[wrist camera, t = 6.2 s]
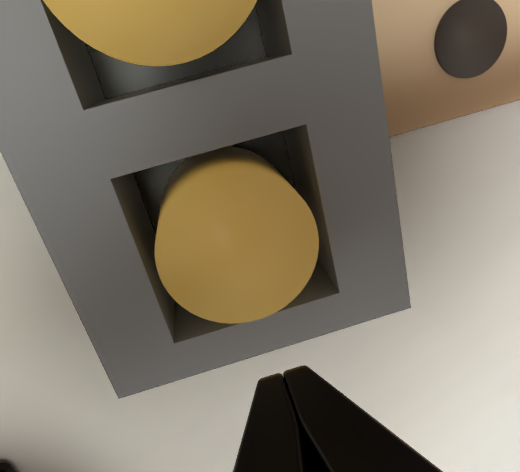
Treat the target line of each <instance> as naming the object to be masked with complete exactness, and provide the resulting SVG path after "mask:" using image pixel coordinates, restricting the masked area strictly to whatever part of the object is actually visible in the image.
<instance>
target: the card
mask: <svg viewBox="0 0 520 472" xmlns="http://www.w3.org/2000/svg"><path fill="white" fill-rule="evenodd" d="M372 7H373V15H374V23H375V31H376V39H377V46H378V54H379V62H380V70H381V78H382V86H383V93H384V101H385V109H386V117H387V125H388V133H389V137H391V136H395V135H398V134H402V133H405V132H409V131H412V130H416V129H419V128H423V127H426V126H430V125H433V124H437V123H440V122H444V121H447V120H451V119H454V118H458V117H461V116H465V115H468V114H472V113H475V112H479V111H482V110H486V109H489V108H493V107H496V106H500V105H503V104H507V103H510V102H514V101H517V100H520V0H372Z"/></svg>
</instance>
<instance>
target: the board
mask: <svg viewBox="0 0 520 472" xmlns="http://www.w3.org/2000/svg"><path fill="white" fill-rule="evenodd" d="M255 5H256V10H257V14H258V19H259V23H260V28H261V32H262V37H263V42H264V46H265V51H266V55H267V56H266V57H262V58H259V59H255V60H251V61H247V62H244V63H240V64H236V65H233V66H229V67H225V68H221V69H218V70H214V71H210V72H206V73H203V74H199V75H195V76H191V77H188V78H184V79H180V80H176V81H173V82H169V83H165V84H162V85H158V86H154V87H150V88H147V89H143V90H139V91H135V92H132V93H128V94H124V95H120V96H117V97H113V98H109V99H105V97H104V94H103V91H102V88H101V86H100V83H99V80H98V77H97V75H96V72H95V69H94V67H93V64H92V61H91V58H90V56H89V53H88V50H87V47H86V45H85V42H84V41H82V40H81V39H79V38H78V37H77V36H76V35H74V34H73V33H72V32H71V31H70V30H69V29H67V28H66V27H65V26H64V25H63V24H62V23H61V22H60V21H59V20H58V18H57V17H56V16H55V15H54V14H53V13H52V12H51V10H50V9H49V8H48V6H47V5H46V4H45V2H44V1H43V0H0V152H1V154H2V156H3V158H4V160H5V162H6V164H7V166H8V168H9V170H10V173H11V175H12V177H13V179H14V181H15V183H16V185H17V187H18V189H19V191H20V193H21V196H22V198H23V200H24V202H25V204H26V206H27V208H28V210H29V212H30V214H31V216H32V219H33V221H34V223H35V225H36V227H37V229H38V231H39V233H40V235H41V237H42V239H43V242H44V244H45V246H46V248H47V250H48V252H49V254H50V256H51V258H52V260H53V262H54V265H55V267H56V269H57V271H58V273H59V275H60V277H61V279H62V281H63V283H64V286H65V288H66V290H67V292H68V294H69V296H70V298H71V300H72V302H73V304H74V306H75V309H76V311H77V313H78V315H79V317H80V319H81V321H82V323H83V325H84V327H85V329H86V332H87V334H88V336H89V338H90V340H91V342H92V344H93V346H94V348H95V350H96V352H97V355H98V357H99V359H100V361H101V363H102V365H103V367H104V369H105V371H106V373H107V375H108V378H109V380H110V382H111V384H112V386H113V388H114V390H115V392H116V394H117V396H118V398H123V397H126V396H129V395H132V394H135V393H139V392H142V391H145V390H148V389H151V388H155V387H158V386H161V385H164V384H167V383H171V382H174V381H177V380H180V379H183V378H187V377H190V376H193V375H196V374H199V373H203V372H206V371H209V370H212V369H215V368H219V367H222V366H225V365H228V364H232V363H235V362H238V361H241V360H244V359H248V358H251V357H254V356H257V355H260V354H264V353H267V352H270V351H273V350H276V349H280V348H283V347H286V346H289V345H292V344H296V343H299V342H302V341H305V340H308V339H312V338H315V337H318V336H321V335H324V334H328V333H331V332H334V331H337V330H340V329H344V328H347V327H350V326H353V325H356V324H360V323H363V322H366V321H369V320H372V319H376V318H379V317H382V316H385V315H388V314H392V313H395V312H398V311H401V310H404V309H408V308H411V305H410V297H409V289H408V282H407V274H406V266H405V258H404V250H403V242H402V235H401V227H400V219H399V211H398V203H397V195H396V188H395V180H394V172H393V164H392V156H391V148H390V141H389V133H388V125H387V117H386V109H385V101H384V93H383V86H382V78H381V70H380V62H379V54H378V46H377V39H376V31H375V23H374V15H373V7H372V0H257V1H256V4H255ZM280 131H283V132H284V137H285V141H286V146H287V151H288V155H289V160H290V164H291V169H292V173H293V178H294V182H295V187H296V191H297V193H298V194H299V195H300V196H301V197H302V198H303V200H304V201H305V202H306V203H307V205H308V207H309V208H310V210H311V212H312V214H313V216H314V219H315V222H316V225H317V229H318V236H319V250H318V258H317V261H316V265H315V268H314V270H313V273H312V275H311V277H310V279H309V281H308V282H307V284H306V286H305V287H304V288H303V290H302V291H301V292H300V293H299V294H298V295H297V296H296V298H295V299H294V300H292V301H291V302H290V303H289V304H288V305H286V306H285V307H284V308H282V309H281V310H279V311H277V312H276V313H274V314H272V315H270V316H267V317H265V318H262V319H259V320H255V321H251V322H246V323H231V324H229V323H219V322H214V321H210V320H207V319H204V318H201V317H198V316H196V315H194V314H192V313H191V312H189V311H188V310H186V309H185V308H183V307H182V306H181V305H179V304H178V303H177V302H176V301H175V300H174V299H173V298H172V297H171V295H170V294H169V293H168V291H167V290H166V288H165V287H164V285H163V283H162V281H161V279H160V277H159V274H158V271H157V267H156V262H155V240H156V236H155V233H154V230H153V227H152V225H151V222H150V219H149V217H148V214H147V211H146V208H145V206H144V203H143V200H142V197H141V195H140V192H139V189H138V187H137V184H136V181H135V178H134V176H133V172H137V171H141V170H144V169H148V168H151V167H155V166H158V165H162V164H166V163H169V162H173V161H176V160H180V159H184V158H187V157H191V156H194V155H198V154H201V153H205V152H209V151H212V150H216V149H219V148H223V147H226V146H230V145H234V144H237V143H241V142H244V141H248V140H251V139H255V138H259V137H262V136H266V135H269V134H273V133H277V132H280Z"/></svg>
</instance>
